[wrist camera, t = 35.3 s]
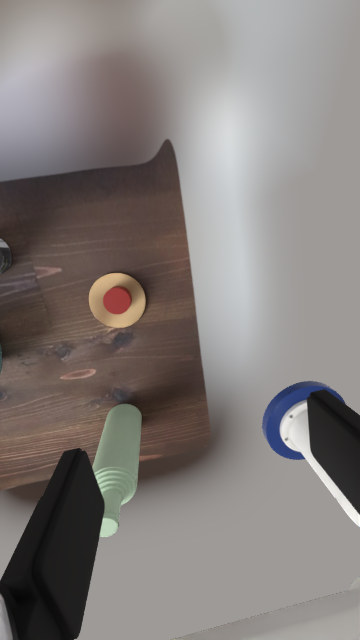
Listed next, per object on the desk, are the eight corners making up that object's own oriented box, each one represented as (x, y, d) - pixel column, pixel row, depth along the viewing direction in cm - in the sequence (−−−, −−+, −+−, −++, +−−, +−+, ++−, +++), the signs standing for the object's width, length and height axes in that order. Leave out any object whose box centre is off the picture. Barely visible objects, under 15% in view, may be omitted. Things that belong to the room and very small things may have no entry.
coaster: (155, 292, 40) (156, 293, 39) (127, 336, 41) (127, 337, 41) (107, 261, 38) (106, 261, 37) (79, 308, 39) (78, 309, 39)
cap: (110, 282, 38) (106, 284, 36) (135, 290, 39) (133, 292, 36) (103, 306, 39) (99, 310, 36) (128, 313, 40) (126, 317, 37)
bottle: (144, 405, 45) (137, 506, 27) (139, 434, 47) (130, 549, 28) (109, 402, 44) (77, 504, 26) (105, 431, 46) (73, 548, 27)
